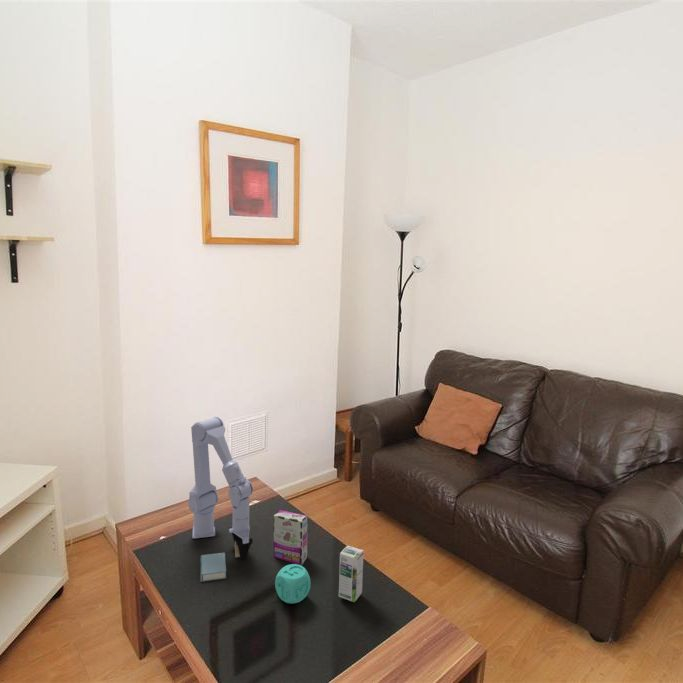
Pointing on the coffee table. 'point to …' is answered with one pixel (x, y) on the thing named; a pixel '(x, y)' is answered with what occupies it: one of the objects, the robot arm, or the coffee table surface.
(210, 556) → the book
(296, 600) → the decorative dice
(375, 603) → the coffee table surface
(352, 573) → the syrup box
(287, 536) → the candy bar box
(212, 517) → the robot arm
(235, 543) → the beech block
